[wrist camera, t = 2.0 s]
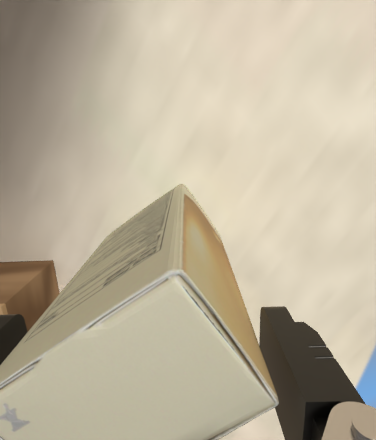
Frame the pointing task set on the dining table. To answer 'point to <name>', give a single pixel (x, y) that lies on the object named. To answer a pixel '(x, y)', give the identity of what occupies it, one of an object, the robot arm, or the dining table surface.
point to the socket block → (27, 289)
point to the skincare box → (141, 341)
